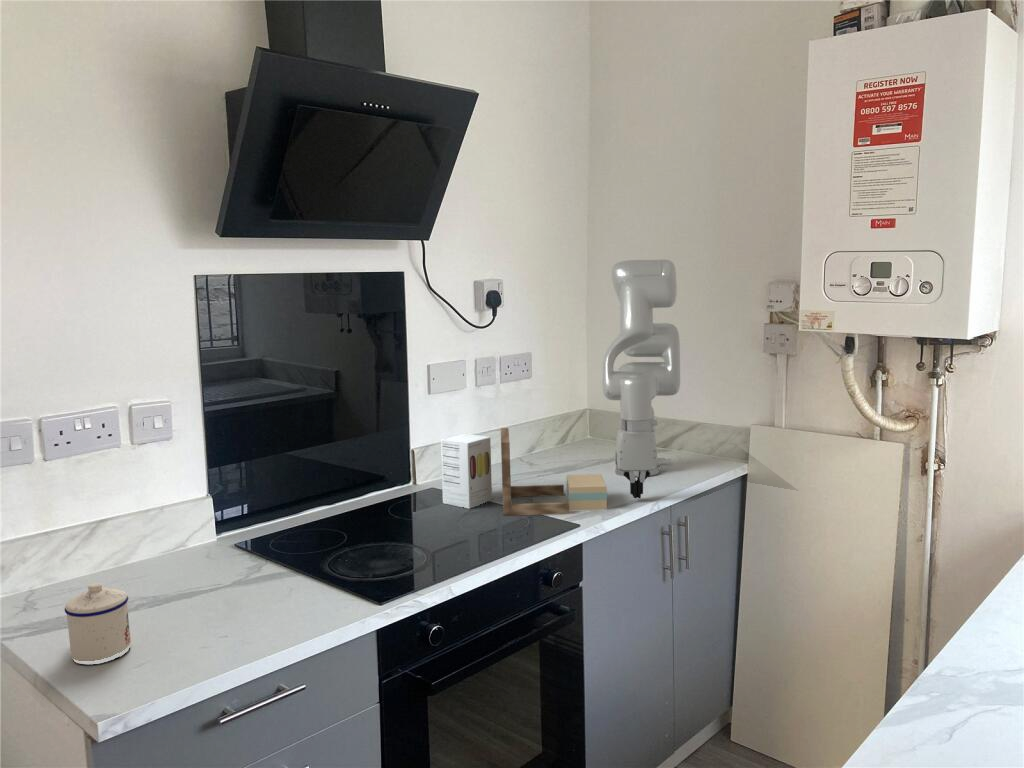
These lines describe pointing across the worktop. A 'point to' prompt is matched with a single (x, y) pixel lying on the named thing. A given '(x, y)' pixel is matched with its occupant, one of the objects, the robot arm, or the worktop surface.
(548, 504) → the display stand
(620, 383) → the robot arm
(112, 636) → the teacup with lid
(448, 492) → the supplement box
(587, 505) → the carton
